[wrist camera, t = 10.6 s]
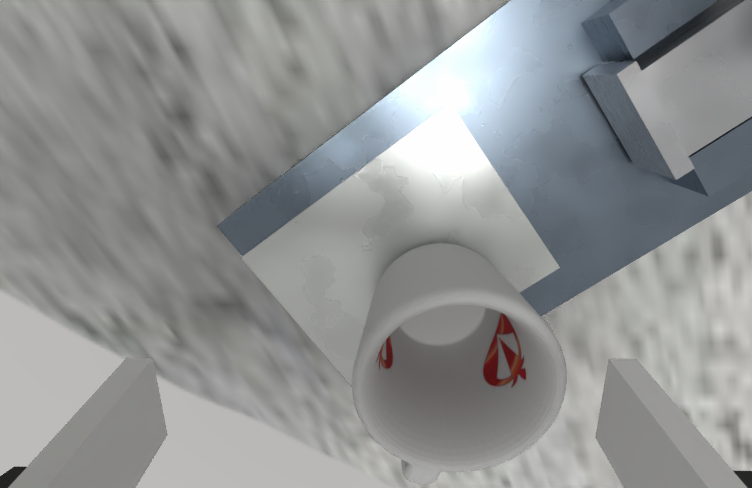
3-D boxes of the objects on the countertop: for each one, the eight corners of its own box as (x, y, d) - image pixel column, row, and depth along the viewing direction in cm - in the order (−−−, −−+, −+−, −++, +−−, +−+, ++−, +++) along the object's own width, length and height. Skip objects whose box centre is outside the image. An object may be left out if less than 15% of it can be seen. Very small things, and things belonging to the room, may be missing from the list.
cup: (477, 413, 28) (511, 540, 20) (340, 389, 27) (323, 511, 20) (533, 239, 24) (601, 316, 17) (377, 209, 24) (373, 274, 16)
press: (232, 213, 27) (194, 244, 22) (650, -108, 22) (731, -168, 17) (379, 387, 31) (376, 450, 25) (776, 145, 25) (875, 162, 20)
